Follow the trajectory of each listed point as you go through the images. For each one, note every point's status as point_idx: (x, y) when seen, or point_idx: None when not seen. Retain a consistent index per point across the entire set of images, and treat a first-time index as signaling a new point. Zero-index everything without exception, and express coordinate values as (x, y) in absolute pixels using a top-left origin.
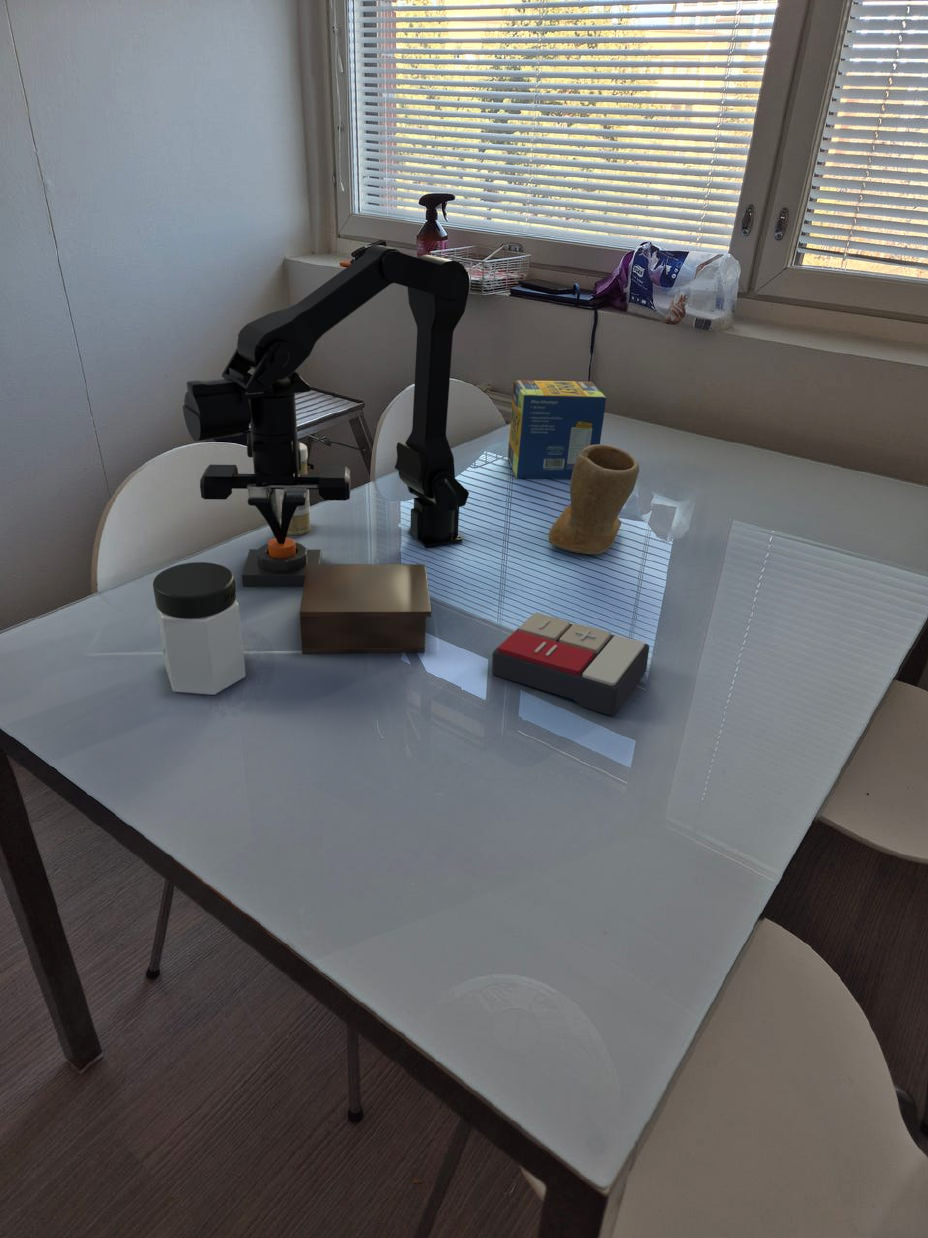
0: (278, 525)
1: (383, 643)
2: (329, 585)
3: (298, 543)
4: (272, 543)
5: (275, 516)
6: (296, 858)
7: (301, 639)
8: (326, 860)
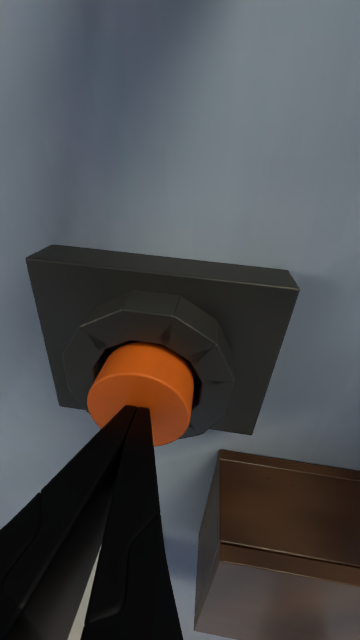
0: (104, 520)
1: None
2: (258, 612)
3: (206, 339)
4: (105, 416)
5: (72, 611)
6: (188, 631)
7: (197, 562)
8: (204, 635)
